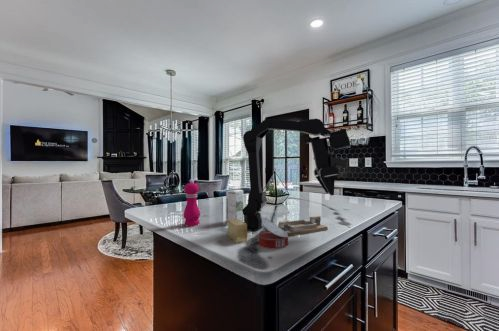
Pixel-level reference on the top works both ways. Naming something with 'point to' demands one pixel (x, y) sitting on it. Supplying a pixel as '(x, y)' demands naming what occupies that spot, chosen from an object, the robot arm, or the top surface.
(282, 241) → the canned food
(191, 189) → the pepper mill
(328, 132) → the robot arm
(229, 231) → the block
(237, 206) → the syrup box
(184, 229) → the top surface
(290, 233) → the shaft board
